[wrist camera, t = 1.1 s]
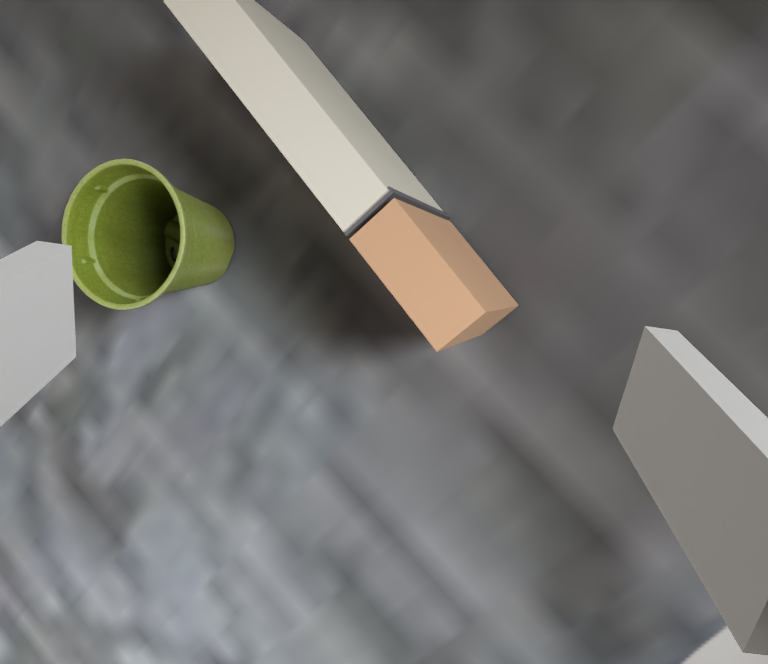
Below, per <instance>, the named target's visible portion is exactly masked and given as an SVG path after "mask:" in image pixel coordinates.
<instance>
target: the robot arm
mask: <svg viewBox="0 0 768 664" xmlns="http://www.w3.org/2000/svg"><path fill="white" fill-rule="evenodd" d="M75 357H76V343H75V318H74V294H73V269H72V246H70V245H63V244H56V243H49V242H42V241H36V242H34V243H32V244H30V245H28V246H26V247H24V248H22V249H20V250H18V251H16V252H14V253H12V254H10V255H8V256H6V257H4V258H2V259H0V427H1V426H2V425H3V424H4V423H5V422H6V421H7V420H8V419H9V418H11V417H12V416H13V415H14V414H15V413H16V412H17V411H18V410H19V409H20V408H21V407H22V406H24V405H25V404H26V403H27V402H28V401H29V400H30V399H31V398H32V397H33V396H34V395H35V394H36V393H38V392H39V391H40V390H41V389H42V388H43V387H44V386H45V385H46V384H47V383H48V382H49V381H51V380H52V379H53V378H54V377H55V376H56V375H57V374H58V373H59V372H60V371H61V370H62V369H63V368H65V367H66V366H67V365H68V364H69V363H70V362H71V361H72V360H73V359H74V358H75ZM613 431H614V432H615V434H616V436H617V437H618V439H619V441H620V443H621V444H622V446H623V448H624V449H625V451H626V453H627V455H628V456H629V458H630V460H631V461H632V463H633V465H634V467H635V468H636V470H637V472H638V473H639V475H640V477H641V479H642V480H643V482H644V484H645V485H646V487H647V489H648V491H649V492H650V494H651V496H652V497H653V499H654V501H655V503H656V504H657V506H658V508H659V509H660V511H661V513H662V515H663V516H664V518H665V520H666V521H667V523H668V525H669V527H670V528H671V530H672V532H673V533H674V535H675V537H676V539H677V540H678V542H679V544H680V545H681V547H682V549H683V551H684V552H685V554H686V556H687V557H688V559H689V561H690V563H691V564H692V566H693V568H694V569H695V571H696V573H697V575H698V576H699V578H700V580H701V581H702V583H703V585H704V587H705V588H706V590H707V592H708V593H709V595H710V597H711V599H712V600H713V602H714V604H715V605H716V607H717V609H718V611H719V612H720V614H721V616H722V617H723V619H724V621H725V623H726V624H727V626H728V628H729V629H730V631H731V633H732V635H733V636H734V638H735V640H736V641H737V643H738V645H739V646H740V648H741V650H742V652H745V653H753V654H761V655H768V418H767V417H766V416H765V415H764V414H763V413H762V412H761V411H760V410H759V409H758V408H757V407H756V406H755V405H754V404H753V403H751V402H750V401H749V400H748V399H747V398H746V397H745V396H744V395H743V394H742V393H741V392H740V391H739V390H738V389H737V388H736V387H735V386H734V385H733V384H732V383H731V382H730V381H729V380H728V379H727V378H726V377H725V376H724V375H723V374H722V373H720V372H719V371H718V370H717V369H716V368H715V367H714V366H713V365H712V364H711V363H710V362H709V361H708V360H707V359H706V358H705V357H704V356H703V355H702V354H701V353H700V352H699V351H698V350H697V349H696V348H695V347H694V346H693V345H692V344H691V343H689V342H688V341H687V340H686V339H685V338H684V337H683V336H682V335H681V334H680V333H679V332H678V331H676V330H668V329H661V328H654V327H647V326H645V328H644V331H643V334H642V337H641V340H640V344H639V347H638V350H637V353H636V356H635V359H634V363H633V366H632V369H631V372H630V375H629V378H628V381H627V385H626V388H625V391H624V394H623V397H622V400H621V404H620V407H619V410H618V413H617V416H616V419H615V423H614V426H613Z"/></svg>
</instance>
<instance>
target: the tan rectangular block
mask: <svg viewBox="0 0 768 664" xmlns="http://www.w3.org/2000/svg"><path fill="white" fill-rule="evenodd" d="M349 240H350V241H351V242H352V244H353V245H354V246H355V247H356V249H357V250H358V251H359V253H360V254H361V255H362V256H363V258H364V259H365V260H366V262H367V263H368V264H369V265H370V267H371V268H372V269H373V270H374V272H375V273H376V274H377V276H378V277H379V278H380V279H381V281H382V282H383V283H384V285H385V286H386V287H387V288H388V290H389V291H390V292H391V294H392V295H393V296H394V297H395V299H396V300H397V301H398V303H399V304H400V305H401V306H402V308H403V309H404V310H405V311H406V313H407V314H408V315H409V317H410V318H411V319H412V320H413V322H414V323H415V324H416V326H417V327H418V328H419V329H420V331H421V332H422V333H423V335H424V336H425V337H426V338H427V340H428V341H429V342H430V344H431V345H432V346H433V347H434V349H435V350H436V351H437V352H438V351H440V350H443V349H445V348H448V347H451V346H453V345H456V344H459V343H461V342H464V341H467V340H469V339H472V338H474V337H477V336H480V335H482V334H483V333H485V332H486V331H487V330H488V329H490V328H491V327H492V326H493V325H495V324H496V323H497V322H499V321H500V320H501V319H502V318H504V317H505V316H506V315H507V314H509V313H510V312H511V311H512V310H514V309H515V308H516V307H517V306H519V305H518V304H517V303H516V301H515V300H514V299H513V298H512V296H511V295H510V294H509V293H508V292H507V290H506V289H505V288H504V287H503V285H502V284H501V283H500V282H499V281H498V279H497V278H496V277H495V276H494V274H493V273H492V272H491V271H490V269H489V268H488V267H487V266H486V265H485V263H484V262H483V261H482V260H481V258H480V257H479V256H478V255H477V254H476V252H475V251H474V250H473V249H472V247H471V246H470V245H469V244H468V242H467V241H466V240H465V239H464V238H463V236H462V235H461V234H460V233H459V231H458V230H457V229H456V228H455V227H454V225H453V224H452V223H451V222H450V221H448V220H446V219H443V218H441V217H438V216H436V215H434V214H431V213H429V212H427V211H424V210H422V209H419V208H417V207H415V206H412V205H410V204H407V203H405V202H403V201H400V200H398V199H396V198H394V199H392V200H391V201H390V202H389V203H388V204H387V205H386V206H385V207H384V208H383V209H382V210H380V211H379V212H378V213H377V214H376V215H375V216H374V217H373V218H372V219H371V220H370V221H369V222H367V223H366V224H365V225H364V226H363V227H362V228H361V229H360V230H359V231H358V232H357V233H355V234H354V235H353V236H352V237H351V238H350V239H349Z"/></svg>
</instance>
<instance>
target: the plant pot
mask: <svg viewBox="0 0 768 664" xmlns="http://www.w3.org/2000/svg"><path fill="white" fill-rule="evenodd" d="M62 244H63V245H70V246H72V269H73V279H74V281H75V282H76V284H77V285H78V286H79V288H80V289H81V290H82V291H83V292H84V293H85V294H86V295H87V296H88V297H89V298H91V299H92V300H93V301H95V302H97V303H99V304H101V305H103V306H105V307H108V308H111V309H117V310H128V309H135V308H139V307H142V306H145V305H147V304H149V303H151V302H153V301H154V300H156V299H157V298H158V297H160V296H161V295H162V294H164V293H168V292H172V291H177V290H182V289H186V288H191V287H196V286H201V285H206V284H210V283H212V282H214V281H216V280H217V279H219V278H220V277H221V276H222V275H223V274H224V273H225V272H226V270H227V267H228V265H229V262H230V259H231V257H232V255H233V253H234V247H235V241H234V234H233V230H232V227H231V225H230V223H229V221H228V219H227V218H226V216H225V215H224V214H223V213H222V212H221V211H219V210H218V209H217V208H215V207H214V206H212V205H210V204H208V203H206V202H204V201H201V200H199V199H197V198H195V197H193V196H191V195H189V194H187V193H185V192H183V191H181V190H179V189H177V188H175V187H174V186H173V185H172V184H171V183H170V182H169V181H168V180H167V179H166V178H165V177H164V176H163V175H162V174H161V173H160V172H159V171H158V170H156V169H155V168H153V167H151V166H150V165H148V164H146V163H143V162H140V161H137V160H133V159H116V160H111V161H108V162H106V163H103V164H101V165H99V166H97V167H96V168H94V169H93V170H91V171H90V172H89V173H88V174H87V175H85V176H84V177H83V179H82V180H81V181H80V182H79V184H78V185H77V186H76V188H75V189H74V191H73V192H72V194H71V196H70V199H69V201H68V203H67V206H66V208H65V212H64V216H63V222H62ZM172 248H174V250H175V256H176V258H177V259H176V262H174V260H173V257H172V253H171V249H172Z"/></svg>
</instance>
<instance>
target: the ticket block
mask: <svg viewBox="0 0 768 664" xmlns="http://www.w3.org/2000/svg"><path fill="white" fill-rule="evenodd" d="M164 3H165V4H166V5H167V6H168V8H169V9H170V10H171V12H172V13H173V14H174V15H175V17H176V18H177V19H178V21H179V22H180V23H181V24H182V26H183V27H184V28H185V30H186V31H187V32H188V33H189V35H190V36H191V37H192V38H193V40H194V41H195V42H196V44H197V45H198V46H199V47H200V49H201V50H202V51H203V53H204V54H205V55H206V56H207V58H208V59H209V60H210V62H211V63H212V64H213V65H214V67H215V68H216V69H217V71H218V72H219V73H220V74H221V76H222V77H223V78H224V80H225V81H226V82H227V83H228V85H229V86H230V87H231V88H232V90H233V91H234V92H235V94H236V95H237V96H238V97H239V99H240V100H241V101H242V103H243V104H244V105H245V106H246V108H247V109H248V110H249V112H250V113H251V114H252V115H253V117H254V118H255V119H256V121H257V122H258V123H259V124H260V126H261V127H262V128H263V129H264V131H265V132H266V133H267V135H268V136H269V137H270V138H271V140H272V141H273V142H274V144H275V145H276V146H277V147H278V149H279V150H280V151H281V153H282V154H283V155H284V156H285V158H286V159H287V160H288V162H289V163H290V164H291V165H292V167H293V168H294V169H295V171H296V172H297V173H298V174H299V176H300V177H301V178H302V179H303V181H304V182H305V183H306V185H307V186H308V187H309V188H310V190H311V191H312V192H313V194H314V195H315V196H316V197H317V199H318V200H319V201H320V203H321V204H322V205H323V206H324V208H325V209H326V210H327V212H328V213H329V214H330V215H331V217H332V218H333V219H334V220H335V222H336V223H337V224H338V226H339V227H340V228H341V229H342V230H341V231H342V232H343V233H344V234H345V236H347V237H352V236H353V235H354V234H355V233H357V232H358V231H359V230H360V229H361V228H362V227H363V226H364V225H365V224H366V223H367V222H369V221H370V220H371V219H372V218H373V217H374V216H375V215H376V214H377V213H378V212H379V211H380V210H382V209H383V208H384V207H385V206H386V205H387V204H388V203H389V202H390V201H391V200H392V199H394V198H396V199H398V200H400V201H403V202H405V203H407V204H410V205H412V206H415V207H417V208H419V209H422V210H424V211H427V212H429V213H431V214H434V215H436V216H438V217H441V218H443V219H446V220H447V219H448V218H450V217H449V216H448V215H447V214H446V213H445V212H443V210H442V209H441V208H440V207H439V205H438V204H437V203H436V202H435V201H434V199H433V198H432V197H431V196H430V194H429V193H428V192H427V191H426V190H425V188H424V187H423V186H422V185H421V183H420V182H419V181H418V180H417V179H416V177H415V176H414V175H413V174H412V172H411V171H410V170H409V169H408V167H407V166H406V165H405V164H404V163H403V161H402V160H401V159H400V158H399V156H398V155H397V154H396V153H395V152H394V150H393V149H392V148H391V147H390V145H389V144H388V143H387V142H386V140H385V139H384V138H383V137H382V136H381V134H380V133H379V132H378V131H377V129H376V128H375V127H374V126H373V125H372V123H371V122H370V121H369V120H368V118H367V117H366V116H365V115H364V113H363V112H362V111H361V110H360V109H359V107H358V106H357V105H356V104H355V102H354V101H353V100H352V99H351V98H350V96H349V95H348V94H347V93H346V91H345V90H344V89H343V88H342V86H341V85H340V84H339V83H338V82H337V80H336V79H335V78H334V77H333V75H332V74H331V73H330V72H329V71H328V69H327V68H326V67H325V66H324V64H323V63H322V62H321V61H320V60H319V58H318V57H317V56H316V55H315V53H314V52H313V51H312V50H311V48H310V47H309V46H308V45H307V44H306V42H305V41H303V40H302V39H301V38H300V37H299V36H297V35H296V34H295V33H294V32H292V31H291V30H290V29H289V28H287V27H286V26H285V25H284V24H283V23H281V22H280V21H279V20H278V19H276V18H275V17H274V16H273V15H271V14H270V13H269V12H268V11H267V10H265V9H264V8H263V7H262V6H260V5H259V4H258V3H257V2H255V1H254V0H164Z"/></svg>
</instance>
